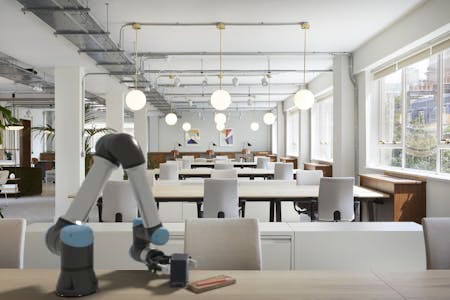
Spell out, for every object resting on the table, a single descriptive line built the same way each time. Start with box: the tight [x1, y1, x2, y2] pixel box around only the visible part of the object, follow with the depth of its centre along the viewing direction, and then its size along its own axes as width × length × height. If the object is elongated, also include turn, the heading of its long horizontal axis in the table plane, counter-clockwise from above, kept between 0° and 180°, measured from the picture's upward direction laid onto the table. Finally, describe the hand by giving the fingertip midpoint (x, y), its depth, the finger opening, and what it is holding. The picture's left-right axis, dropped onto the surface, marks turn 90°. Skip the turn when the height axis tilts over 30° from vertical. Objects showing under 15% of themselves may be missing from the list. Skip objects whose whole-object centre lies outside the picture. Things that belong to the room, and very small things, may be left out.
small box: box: [169, 252, 190, 288], centre depth 172 cm, size 11×6×10 cm, turn 179°
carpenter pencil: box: [197, 278, 230, 286], centre depth 166 cm, size 14×1×1 cm, turn 120°
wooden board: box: [186, 274, 237, 294], centre depth 168 cm, size 8×18×2 cm, turn 130°
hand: (182, 267), depth 172 cm, fingers open, 13 cm apart
